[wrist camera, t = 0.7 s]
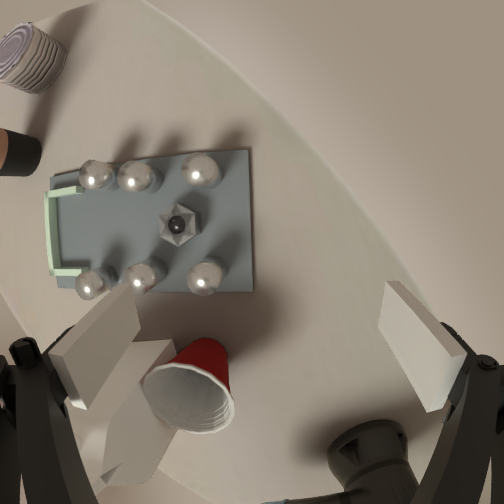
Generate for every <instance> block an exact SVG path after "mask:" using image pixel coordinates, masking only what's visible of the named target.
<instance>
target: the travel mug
mask: <svg viewBox="0 0 504 504" xmlns="http://www.w3.org/2000/svg"><path fill="white" fill-rule="evenodd" d="M40 157H41V145H40V142H39V141H38V140H37V139H36V138H34V137H30V136H27V135H24V134H20V133H17V132H13V131H9V130H6V129H2V128H0V176H29V175H31V174H32V173H33V172H34V171H35V170H36V168H37V166H38V164H39V161H40Z"/></svg>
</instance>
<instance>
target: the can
mask: <svg viewBox="0 0 504 504" xmlns="http://www.w3.org/2000/svg"><path fill="white" fill-rule="evenodd" d="M66 56H67V52H66V50H65V48H64V46H63V45H62V44H61V43H59V42H58V41H56V40H55V39H53V38H52V37H50V36H49V35H47V34H46V33H44V32H43V31H41V30H40V29H38V28H37V27H35V26H34V25H33V22H28V23H19V24H18V25H17V26H16V27H15V28H14V29H12V30H11V31H10V32H9V33H8V34H7V35H6V36H4V37H3V38H2V39H1V41H0V82H1V83H4V84H6V85H9V86H12V87H14V88H17V89H19V90H22V91H24V92H27V93H29V94H40V93H41V92H43V91H44V90H45V89H47V88H48V87H49V86H51V85H52V84H53V82H54V81H55V79H56V78H57V76H58V75H59V74H60V72H61V71H62V69H63V67H64V63H65V59H66Z"/></svg>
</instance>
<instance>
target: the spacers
mask: <svg viewBox="0 0 504 504" xmlns="http://www.w3.org/2000/svg"><path fill="white" fill-rule="evenodd" d="M181 173H182V176H183V178H184V180H185V181H186V182H188V183H189V184H192V185H195V186H198V187H201V188H204V189H213V188H215V187H217V186H218V185H219V184H220V183H221V181H222V179H223V170H222V168H221V166H220V165H219V164H218V163H216V162H215V161H214V160H213V159H212V158H211V157H209V156H208V155H207V154H205V153H202V152H195V153H192V154H190V155H188V156H187V157H186V158H185V159H184V161H183V163H182V166H181ZM79 182H80V184H81V186H82V187H84V188H86V189H96V190H107V191H115V190H117V189H118V188H119V187H121V188H122V189H123V190H125V191H128V192H137V193H147V194H153V193H155V192H157V191H158V190H159V189H160V188H161V186H162V184H163V175H162V173H161V171H160V170H159V169H157V168H155V167H152V166H149V165H146V164H143V163H140V162H137V161H133V160H132V161H127V162H125V163H124V164H123V165H122V166H121V167H118V166H115V165H111V164H107V163H103V162H99V161H95V160H88V161H86V162H85V163H84V164H83V165H82V167H81V169H80V171H79ZM226 273H227V267H226V264H225V262H224V261H223V260H222V259H221V258H220V257H218V256H208V257H206V258H204V259H203V260H201V261H200V262H199V263H197V264H196V265H195V266H193V267H192V268H191V269H190V270H189V271H188V273H187V277H186V281H187V285H188V287H189V289H190V290H191V291H192V292H193V293H194V294H196V295H198V296H209V295H211V294H213V293H214V292H215V291H216V289H217V288H218V286H219V285H220V283H221V282H222V281H223V279H224V278H225V276H226ZM167 274H168V268H167V265H166V263H165V262H164V261H163V260H162V259H161V258H158V257H151V258H149V259H146V260H144V261H141V262H139V263H136V264H134V265H132V266H130V267H128V268H127V269H126V270H125V272H124V276H123V280H124V283H129V284H132V288H133V293H134V294H135V295H143V294H145V293H146V292H148V291H149V290H151V289H152V288H154V287H155V286H157V285H158V284H159V283H161V282H162V281H164V280H165V279H166V277H167ZM117 282H118V275H117V272H116V270H115V269H114V268H113V267H112V266H110V265H103V266H100V267H97V268H95V269H92V270H89V271H86V272H83V273H81V274H79V275H78V276H77V277H76V280H75V288H76V291H77V293H78V295H79V296H80V297H81V298H82V299H84V300H91V299H93V298H95V297H97V296H99V295H101V294H103V293H105V292H107V291H108V290H110V289H112V288H114V287H115V286H116V285H117Z"/></svg>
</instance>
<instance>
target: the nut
mask: <svg viewBox="0 0 504 504" xmlns="http://www.w3.org/2000/svg"><path fill="white" fill-rule="evenodd" d="M159 228H160V237H162V238H163V239H165V240H167V241H169V242H170V243H172V244H174V245H176V246H178V247H179V246H181V245H184V244H186V243H187V242H189V241H190V240H192V239H193V238H195V237H196V236H198V235H199V234H201V213H200V212H199V211H197V210H195V209H193V208H191V207H189V206H187V205H185V204H183V203H175V204H174V205H172V206H171V207H169V208H168V209H167V210H165V211H164V212H162V213H161V214H160V215H159Z"/></svg>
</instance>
